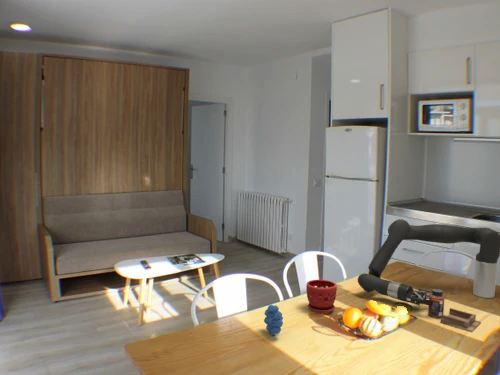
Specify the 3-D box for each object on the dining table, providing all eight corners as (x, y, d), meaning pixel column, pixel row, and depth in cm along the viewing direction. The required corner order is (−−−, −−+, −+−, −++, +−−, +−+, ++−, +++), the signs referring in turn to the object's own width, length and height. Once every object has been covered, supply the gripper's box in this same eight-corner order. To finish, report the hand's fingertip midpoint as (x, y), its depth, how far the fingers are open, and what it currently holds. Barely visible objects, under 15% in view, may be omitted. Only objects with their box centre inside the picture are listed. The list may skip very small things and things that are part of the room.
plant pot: (340, 308, 183) (341, 282, 182) (328, 318, 172) (330, 290, 171) (312, 301, 190) (313, 276, 189) (300, 311, 179) (301, 284, 178)
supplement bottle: (444, 319, 173) (446, 293, 172) (429, 317, 175) (431, 292, 173) (441, 313, 179) (443, 288, 178) (426, 312, 180) (428, 287, 179)
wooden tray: (450, 314, 178) (450, 307, 178) (480, 323, 170) (481, 316, 170) (440, 322, 170) (440, 315, 170) (471, 332, 162) (472, 324, 161)
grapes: (290, 339, 153) (291, 308, 151) (275, 342, 149) (276, 311, 148) (274, 326, 163) (275, 297, 162) (259, 329, 160) (260, 300, 159)
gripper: (393, 287, 182) (430, 296, 171) (407, 280, 192) (443, 288, 181) (392, 303, 183) (429, 314, 172) (406, 295, 193) (442, 305, 182)
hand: (436, 301), depth 176 cm, fingers open, 8 cm apart
